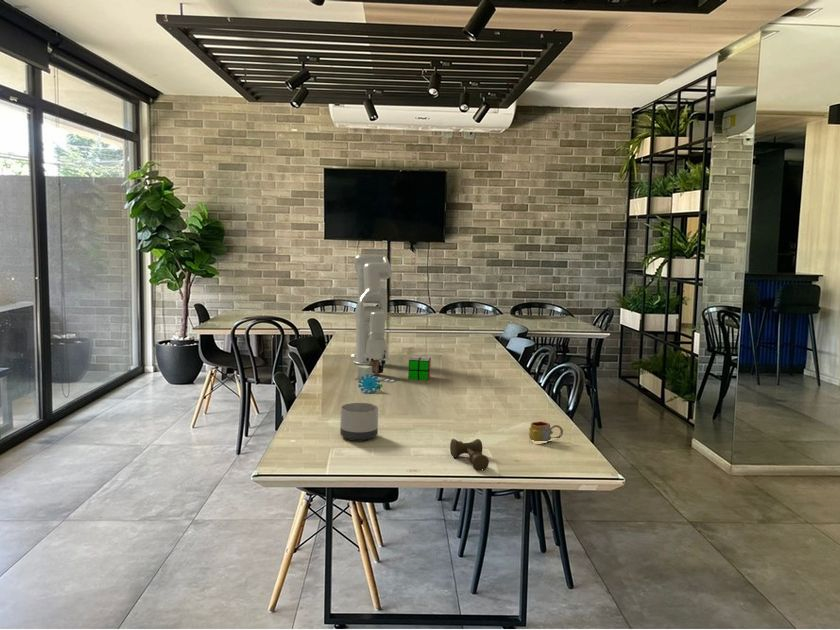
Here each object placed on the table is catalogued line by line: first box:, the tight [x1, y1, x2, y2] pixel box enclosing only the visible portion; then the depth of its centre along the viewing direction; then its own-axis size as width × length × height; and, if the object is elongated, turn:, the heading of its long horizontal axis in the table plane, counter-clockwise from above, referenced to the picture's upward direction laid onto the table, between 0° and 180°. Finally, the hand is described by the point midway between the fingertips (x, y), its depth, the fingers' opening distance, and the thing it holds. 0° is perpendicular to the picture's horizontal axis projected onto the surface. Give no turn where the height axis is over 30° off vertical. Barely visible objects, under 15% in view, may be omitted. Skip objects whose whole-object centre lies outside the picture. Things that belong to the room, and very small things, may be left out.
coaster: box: [379, 377, 401, 384], centre depth 309 cm, size 8×8×1 cm
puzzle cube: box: [407, 356, 432, 381], centre depth 317 cm, size 10×10×10 cm
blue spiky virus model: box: [357, 373, 383, 394], centre depth 287 cm, size 11×6×10 cm
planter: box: [339, 402, 379, 441], centre depth 219 cm, size 13×13×10 cm
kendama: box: [449, 438, 490, 471], centre depth 200 cm, size 6×10×20 cm
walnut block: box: [368, 359, 381, 375], centre depth 320 cm, size 5×5×6 cm
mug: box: [528, 421, 564, 441], centre depth 221 cm, size 12×7×7 cm, turn 96°
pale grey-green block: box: [357, 365, 373, 380], centre depth 310 cm, size 5×5×6 cm
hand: (376, 371), depth 320 cm, fingers closed on walnut block, 4 cm apart
